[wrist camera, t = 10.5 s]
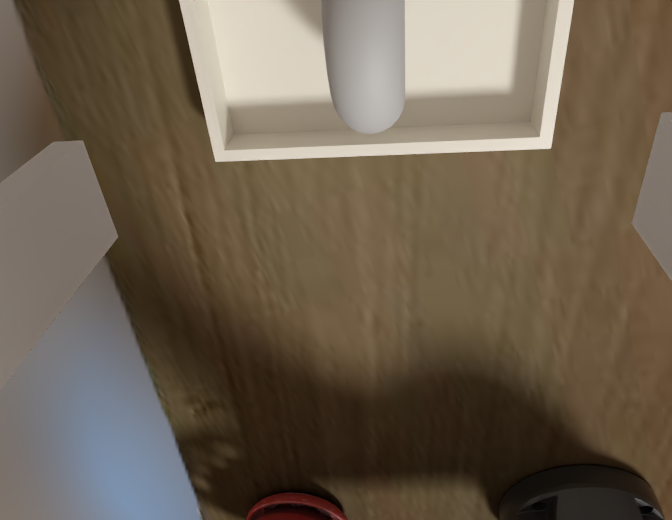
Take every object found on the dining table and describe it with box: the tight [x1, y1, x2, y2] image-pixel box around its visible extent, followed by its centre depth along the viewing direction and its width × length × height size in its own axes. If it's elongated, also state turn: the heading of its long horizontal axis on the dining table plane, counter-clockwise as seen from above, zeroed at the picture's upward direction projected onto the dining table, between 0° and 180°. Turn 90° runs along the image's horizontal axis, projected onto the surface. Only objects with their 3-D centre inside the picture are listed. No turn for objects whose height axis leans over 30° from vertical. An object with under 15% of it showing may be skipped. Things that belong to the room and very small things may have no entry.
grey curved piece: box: [321, 0, 405, 134], centre depth 25 cm, size 10×3×10 cm, turn 5°
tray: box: [179, 0, 574, 162], centre depth 28 cm, size 15×19×3 cm
